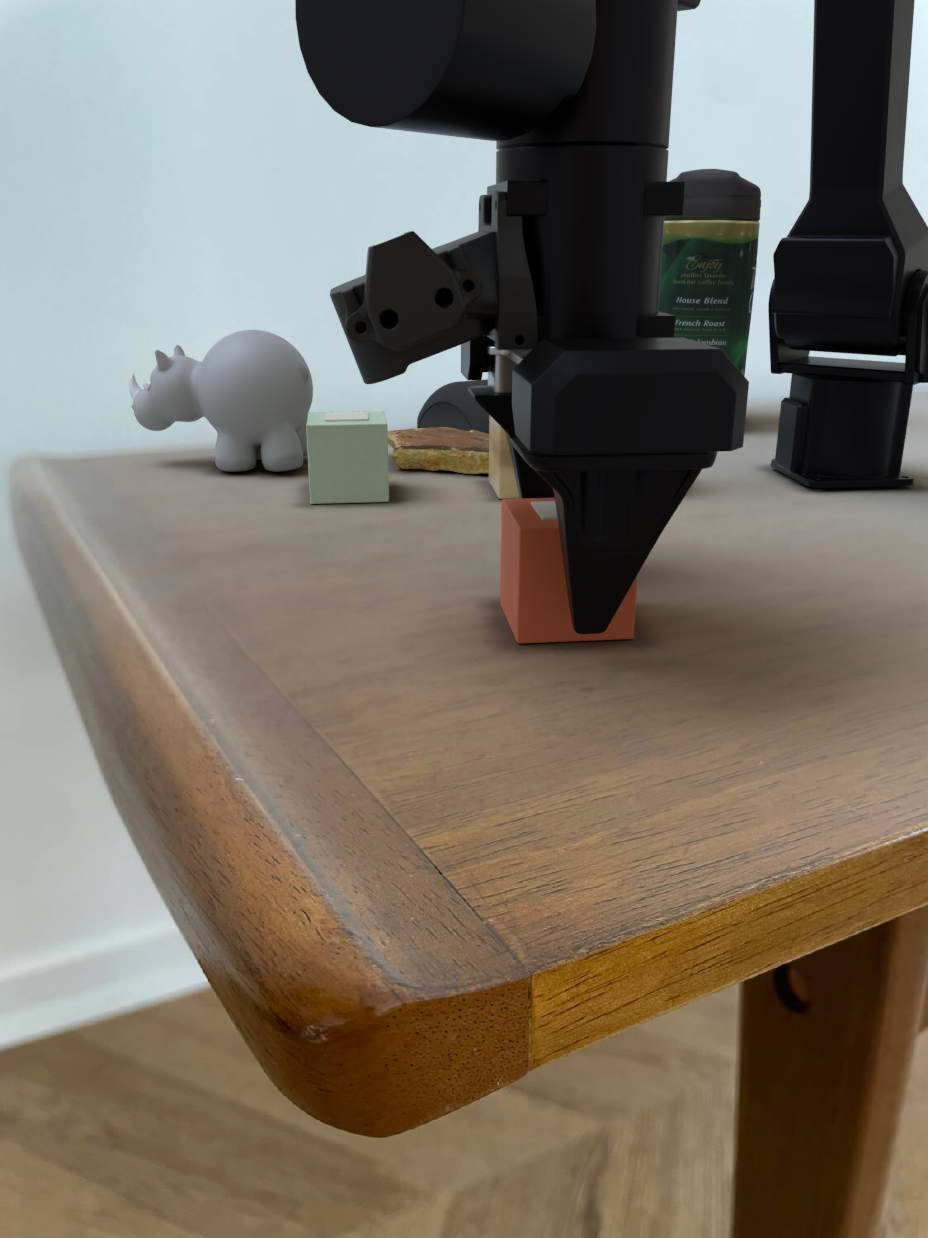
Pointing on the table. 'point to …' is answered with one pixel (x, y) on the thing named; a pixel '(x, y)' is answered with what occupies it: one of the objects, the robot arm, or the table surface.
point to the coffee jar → (712, 261)
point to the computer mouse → (454, 408)
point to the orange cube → (544, 578)
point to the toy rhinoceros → (235, 399)
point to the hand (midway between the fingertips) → (565, 594)
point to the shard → (441, 449)
